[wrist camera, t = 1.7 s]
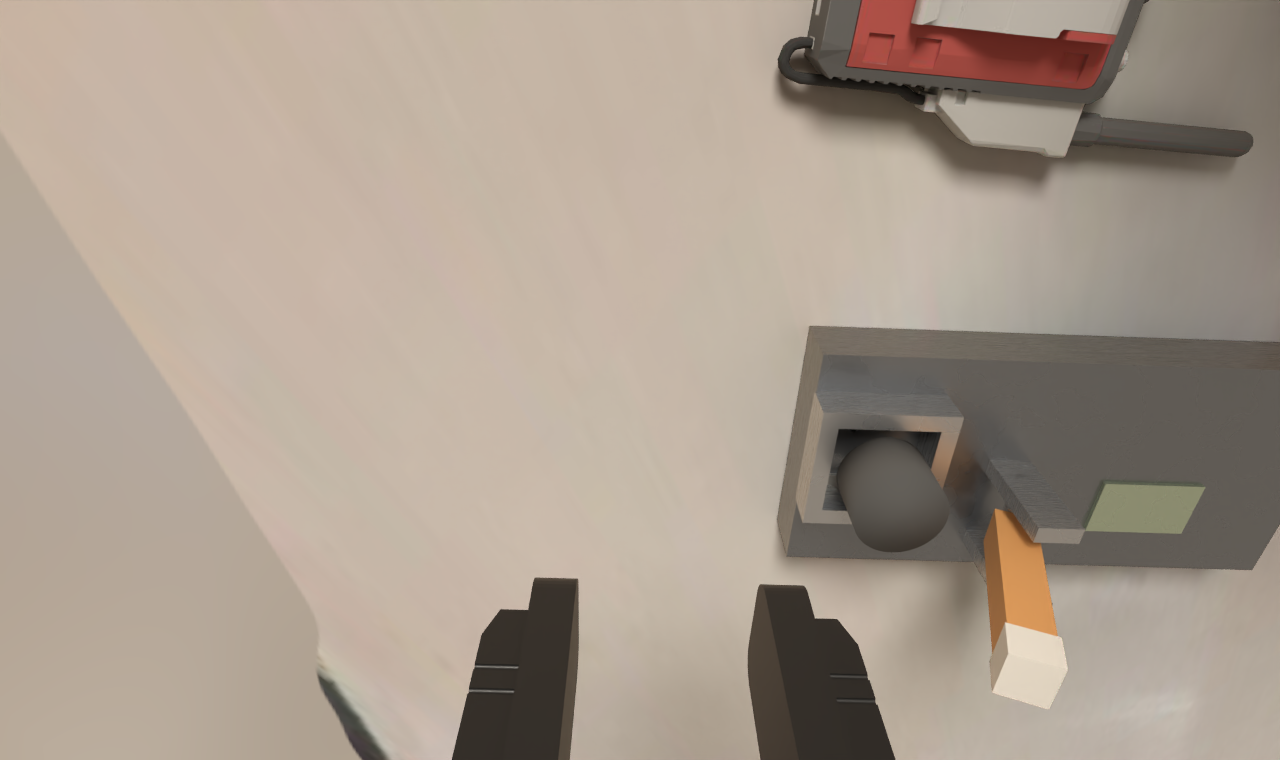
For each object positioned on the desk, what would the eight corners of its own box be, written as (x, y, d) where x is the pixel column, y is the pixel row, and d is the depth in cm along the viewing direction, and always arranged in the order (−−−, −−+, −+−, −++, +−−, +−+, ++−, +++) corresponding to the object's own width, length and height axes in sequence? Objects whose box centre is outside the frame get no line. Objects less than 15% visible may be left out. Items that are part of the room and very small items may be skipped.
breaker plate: (807, 325, 35) (849, 413, 28) (1317, 343, 35) (1483, 434, 29) (775, 519, 41) (803, 631, 34) (1213, 532, 41) (1329, 645, 34)
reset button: (844, 435, 32) (863, 476, 30) (934, 438, 32) (960, 479, 30) (829, 506, 34) (845, 551, 31) (914, 509, 34) (936, 553, 32)
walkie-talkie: (762, 121, 31) (1214, 164, 32) (779, 142, 27) (1293, 190, 28) (803, -128, 27) (1324, -71, 27) (831, -146, 23) (1436, -79, 24)
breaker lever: (993, 506, 34) (1008, 653, 27) (1039, 516, 34) (1068, 670, 26) (980, 541, 36) (991, 692, 28) (1025, 552, 35) (1048, 709, 27)
